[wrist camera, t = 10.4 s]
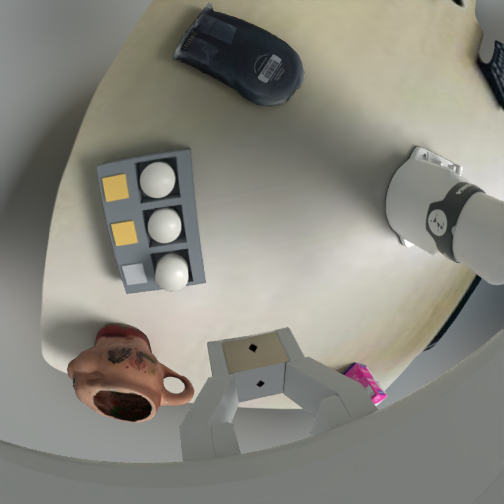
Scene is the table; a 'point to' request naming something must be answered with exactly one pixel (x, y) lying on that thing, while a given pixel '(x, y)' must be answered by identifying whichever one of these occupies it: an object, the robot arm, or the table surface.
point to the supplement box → (367, 382)
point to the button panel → (138, 214)
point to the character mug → (124, 376)
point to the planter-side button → (171, 272)
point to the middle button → (164, 224)
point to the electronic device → (242, 57)
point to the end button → (158, 179)
